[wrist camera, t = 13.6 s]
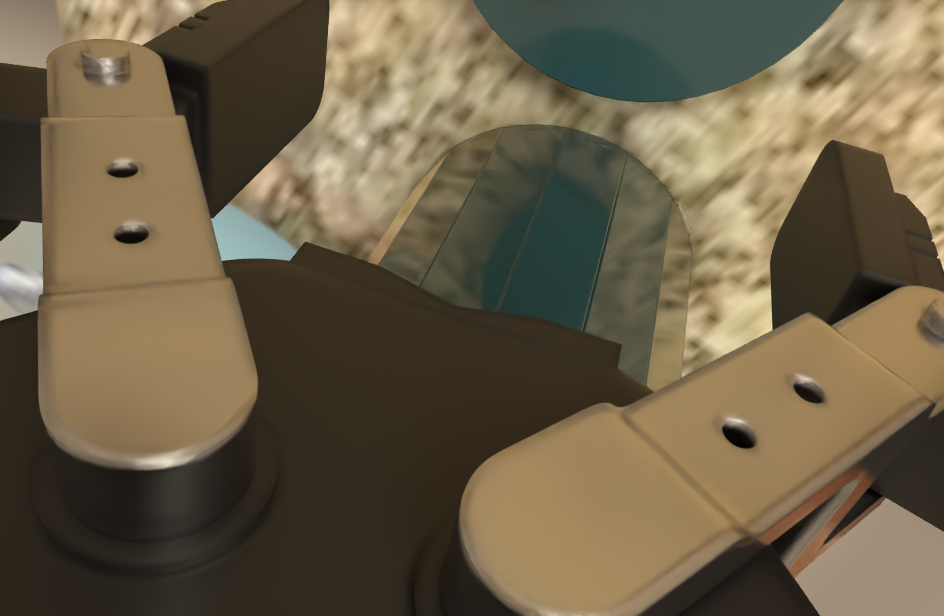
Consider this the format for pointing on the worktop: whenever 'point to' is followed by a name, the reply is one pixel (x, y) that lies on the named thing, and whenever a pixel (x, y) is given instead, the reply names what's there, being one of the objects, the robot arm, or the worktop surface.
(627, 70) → the lid
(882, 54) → the worktop surface
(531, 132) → the canister
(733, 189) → the worktop surface
